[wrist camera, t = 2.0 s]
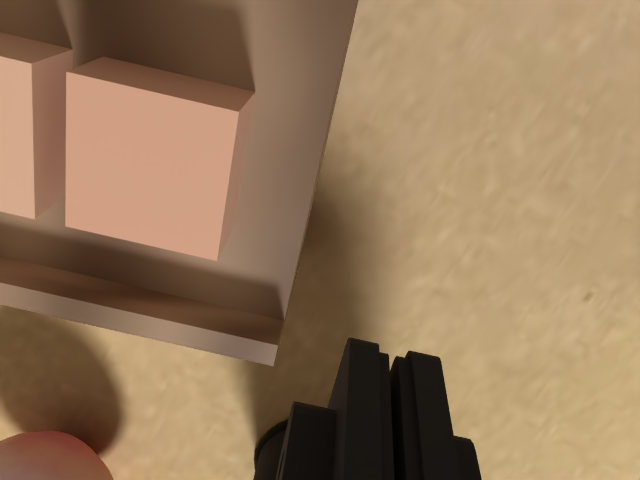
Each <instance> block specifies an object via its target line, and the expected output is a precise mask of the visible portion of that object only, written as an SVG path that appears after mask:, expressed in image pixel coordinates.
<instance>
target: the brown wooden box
mask: <svg viewBox="0 0 640 480" xmlns="http://www.w3.org/2000/svg"><path fill="white" fill-rule="evenodd" d="M357 4H358V0H0V32H1V33H5V34H9V35H14V36H18V37H22V38H26V39H31V40H35V41H39V42H44V43H48V44H52V45H56V46H61V47H65V48H69V49H73V69H74V68H76V67H79V66H81V65H84V64H86V63H89V62H91V61H93V60H96V59H98V58H101V57H103V56H104V57H108V58H112V59H116V60H121V61H125V62H129V63H134V64H138V65H142V66H146V67H151V68H155V69H159V70H164V71H168V72H172V73H176V74H181V75H185V76H189V77H193V78H198V79H202V80H206V81H211V82H215V83H219V84H223V85H228V86H232V87H236V88H241V89H245V90H249V91H253V92H255V98H254V105H253V111H252V117H251V124H250V130H249V136H248V143H247V149H246V155H245V162H244V168H243V174H242V181H241V187H240V193H239V200H238V206H237V212H236V219H235V225H234V229H233V231H232V233H231V235H230V237H229V239H228V241H227V243H226V244H225V246H224V248H223V250H222V252H221V254H220V256H219V258H218V260H217V261H215V260H210V259H206V258H202V257H197V256H193V255H188V254H184V253H180V252H175V251H171V250H167V249H162V248H158V247H153V246H149V245H145V244H140V243H136V242H132V241H127V240H123V239H118V238H114V237H110V236H105V235H101V234H97V233H92V232H88V231H83V230H79V229H75V228H70V227H66V226H65V203H66V195H65V196H63V197H62V198H61V199H60V200H58V201H57V202H56V203H55V204H53V205H52V206H51V207H50V208H48V209H47V210H46V211H45V212H43V213H42V214H41V215H40V216H38V217H37V218H36V219H31V218H27V217H22V216H18V215H14V214H9V213H5V212H0V305H4V306H8V307H13V308H17V309H22V310H26V311H30V312H35V313H39V314H44V315H48V316H53V317H57V318H61V319H66V320H70V321H75V322H79V323H83V324H88V325H92V326H97V327H101V328H106V329H110V330H114V331H119V332H123V333H128V334H132V335H137V336H141V337H145V338H150V339H154V340H159V341H163V342H167V343H172V344H176V345H181V346H185V347H190V348H194V349H198V350H203V351H207V352H212V353H216V354H221V355H225V356H229V357H234V358H238V359H243V360H247V361H251V362H256V363H260V364H265V365H269V366H274V362H275V358H276V354H277V350H278V346H279V342H280V338H281V334H282V330H283V326H284V322H285V318H286V314H287V310H288V306H289V302H290V298H291V294H292V290H293V286H294V282H295V278H296V274H297V270H298V266H299V262H300V258H301V254H302V249H303V245H304V240H305V236H306V231H307V227H308V222H309V218H310V214H311V209H312V205H313V200H314V196H315V191H316V187H317V182H318V178H319V173H320V169H321V164H322V160H323V156H324V151H325V147H326V142H327V138H328V133H329V129H330V124H331V120H332V115H333V111H334V106H335V102H336V98H337V93H338V89H339V84H340V80H341V75H342V71H343V66H344V62H345V57H346V53H347V48H348V44H349V40H350V35H351V31H352V26H353V22H354V17H355V13H356V8H357Z"/></svg>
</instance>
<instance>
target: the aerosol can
mask: <svg viewBox="0 0 640 480" xmlns="http://www.w3.org/2000/svg"><path fill="white" fill-rule="evenodd" d="M288 421H289V420H287V421H285V422H282V423H280V424H278V425H276V426H275V427H273V428H272V429H271V430H269V431H268V432H267V433H266V434H265V435H264V437H263V438H262V439H261V440H260V442H259V444H258V446H257V448H256V452H255V456H254V464H255V475H254V479H253V480H276V475H277V470H278V465H279V460H280V455H281V450H282V446H283V441H284V437H285V433H286V428H287V425H288Z"/></svg>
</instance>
